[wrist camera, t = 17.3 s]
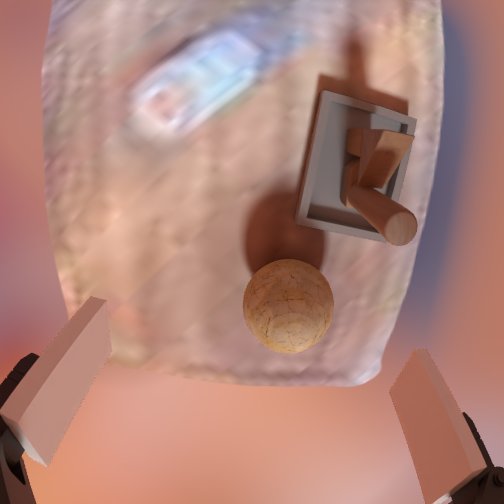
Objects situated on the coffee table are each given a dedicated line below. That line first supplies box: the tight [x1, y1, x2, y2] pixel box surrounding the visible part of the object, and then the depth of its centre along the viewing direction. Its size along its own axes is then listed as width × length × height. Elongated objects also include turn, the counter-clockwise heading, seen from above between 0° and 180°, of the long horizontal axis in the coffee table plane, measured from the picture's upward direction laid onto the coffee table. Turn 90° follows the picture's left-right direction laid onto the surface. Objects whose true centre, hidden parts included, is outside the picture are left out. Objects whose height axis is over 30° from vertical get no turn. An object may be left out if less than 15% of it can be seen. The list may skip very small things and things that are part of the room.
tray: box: [294, 90, 417, 243], centre depth 40 cm, size 19×14×3 cm
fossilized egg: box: [243, 259, 334, 353], centre depth 42 cm, size 13×13×15 cm
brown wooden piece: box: [340, 128, 417, 246], centre depth 33 cm, size 4×11×18 cm, turn 176°
